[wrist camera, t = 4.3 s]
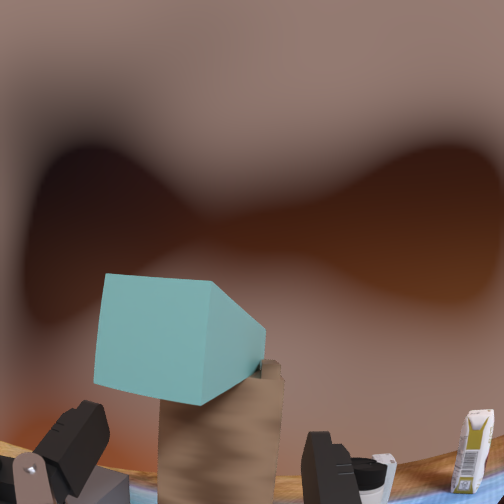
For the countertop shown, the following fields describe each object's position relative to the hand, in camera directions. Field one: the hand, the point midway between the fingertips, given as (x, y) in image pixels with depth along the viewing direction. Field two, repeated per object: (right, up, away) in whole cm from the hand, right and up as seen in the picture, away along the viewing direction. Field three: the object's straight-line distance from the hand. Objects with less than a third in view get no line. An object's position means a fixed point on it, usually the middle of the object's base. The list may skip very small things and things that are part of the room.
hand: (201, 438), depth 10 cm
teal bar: (0, -1, +10) cm, 10 cm away
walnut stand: (-2, -33, +4) cm, 33 cm away
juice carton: (+49, -46, +32) cm, 75 cm away
